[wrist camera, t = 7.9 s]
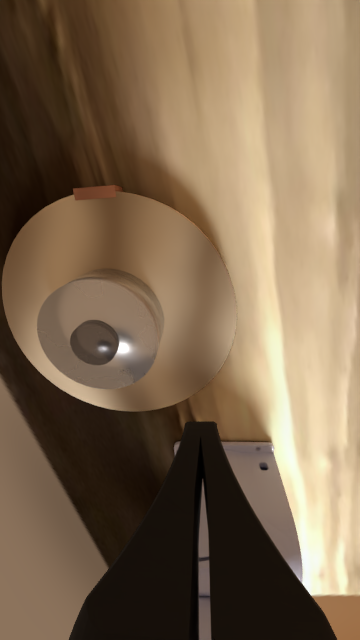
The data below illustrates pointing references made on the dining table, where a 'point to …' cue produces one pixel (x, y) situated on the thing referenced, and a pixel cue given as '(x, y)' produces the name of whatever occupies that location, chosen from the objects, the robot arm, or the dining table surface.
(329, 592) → the dining table surface
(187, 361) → the turntable
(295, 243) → the dining table surface
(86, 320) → the cover
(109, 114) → the dining table surface
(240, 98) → the dining table surface
